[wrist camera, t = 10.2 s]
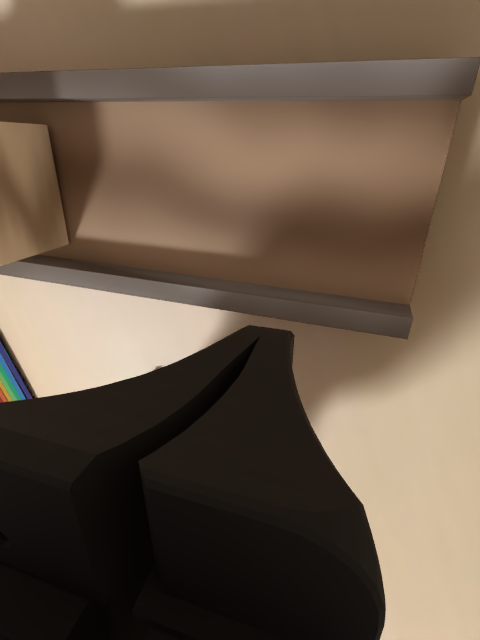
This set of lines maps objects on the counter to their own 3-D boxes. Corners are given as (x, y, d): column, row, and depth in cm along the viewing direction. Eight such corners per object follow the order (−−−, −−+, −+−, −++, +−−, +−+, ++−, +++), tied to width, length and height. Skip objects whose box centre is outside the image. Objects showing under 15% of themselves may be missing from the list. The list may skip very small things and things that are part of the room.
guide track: (402, 312, 18) (410, 356, 14) (-42, 249, 26) (-113, 267, 22) (460, 73, 14) (496, 45, 10) (-95, 86, 22) (-195, 72, 18)
